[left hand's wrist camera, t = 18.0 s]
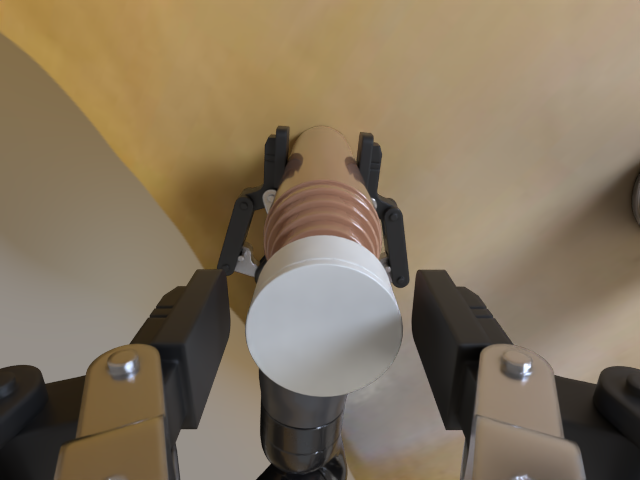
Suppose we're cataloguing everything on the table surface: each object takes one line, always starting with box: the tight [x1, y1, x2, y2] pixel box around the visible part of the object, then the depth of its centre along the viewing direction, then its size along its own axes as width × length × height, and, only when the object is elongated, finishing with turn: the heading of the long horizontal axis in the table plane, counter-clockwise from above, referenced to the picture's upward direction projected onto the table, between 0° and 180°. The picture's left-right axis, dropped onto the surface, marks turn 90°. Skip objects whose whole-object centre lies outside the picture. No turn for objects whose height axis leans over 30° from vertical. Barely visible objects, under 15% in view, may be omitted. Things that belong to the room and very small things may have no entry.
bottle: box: [264, 126, 382, 261], centre depth 22 cm, size 5×5×24 cm
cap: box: [245, 235, 403, 397], centre depth 11 cm, size 4×4×2 cm
